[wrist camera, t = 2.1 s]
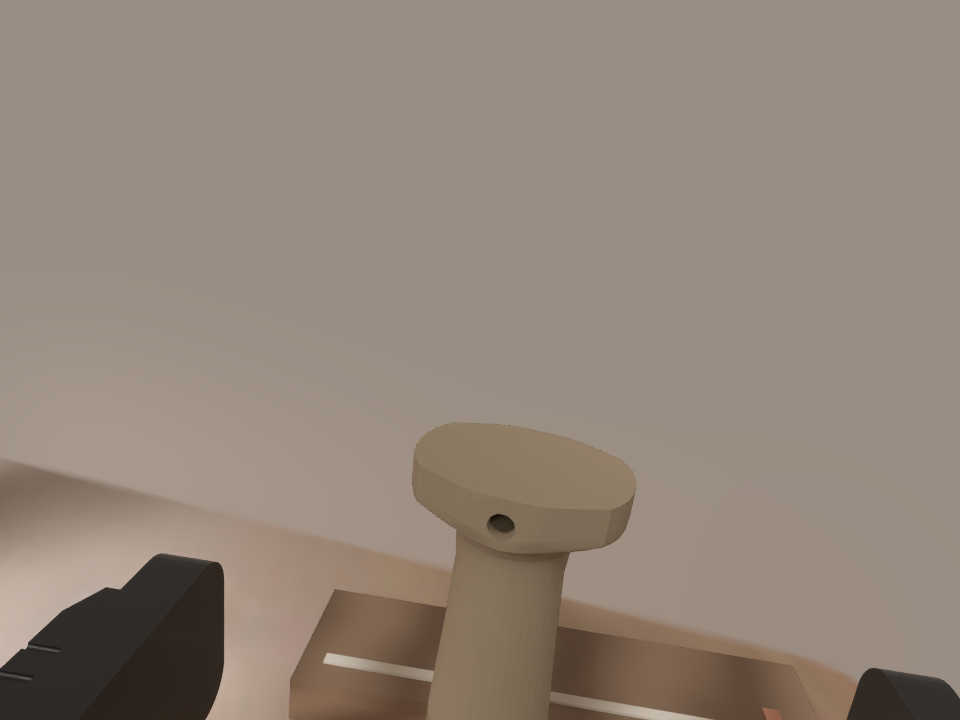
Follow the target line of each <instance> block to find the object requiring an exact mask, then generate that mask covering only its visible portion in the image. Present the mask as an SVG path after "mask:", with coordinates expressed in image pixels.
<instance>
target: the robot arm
mask: <svg viewBox="0 0 960 720" xmlns="http://www.w3.org/2000/svg"><path fill="white" fill-rule="evenodd" d="M223 667H224V573H223V569H222V566H221V565H220V564H219V563H218V562H213V561H206V560H200V559H194V558H187V557H181V556H175V555H168V554H158V555H156V556H154V557H153V558H152V559H151V560H149V561H148V562H147V563H146V564H145V565H144V566H143V567H142V568H141V569H140V570H139V572H138V573H137V574H136V575H135V576H134V577H133V578H132V579H131V580H130V581H129V582H128V583H127V584H126V585H125V586H124V587H123V588H122V589H121V590H119V589H113V588H107V587H106V588H104V589H102V590H100V591H99V592H97V593H95V594H93V595H91V596H89V597H87V598H85V599H84V600H82V601H80V602H78V603H76V604H74V605H72V606H71V607H69V608H67V609H65V610H63V611H62V612H61V613H59V614H58V615H57V616H56V617H55V618H54V619H53V620H52V621H51V622H50V623H49V624H48V625H47V626H45V627H44V628H43V629H42V630H41V631H40V632H39V633H38V634H37V635H36V636H35V637H34V638H33V639H31V640H30V641H29V642H28V646H27V648H26V649H21V650H20V651H19V652H18V653H16V654H15V655H14V656H13V657H12V658H11V659H10V660H9V661H8V662H7V663H6V664H5V665H4V666H2V667H1V668H0V720H205V719H206V717H207V716H208V714H209V712H210V710H211V708H212V706H213V703H214V701H215V699H216V696H217V693H218V690H219V686H220V683H221V678H222V673H223ZM847 720H960V699H959V697H958V696H957V694H956V693H955V692H954V690H953V689H952V688H951V687H950V686H949V684H947V683H946V682H945V681H943V680H941V679H939V678H934V677H928V676H921V675H915V674H908V673H903V672H895V671H890V670H884V669H877V668H871V669H868V670H867V671H866V672H865V673H864V674H863V675H862V677H861V679H860V681H859V684H858V687H857V690H856V693H855V696H854V699H853V702H852V705H851V708H850V711H849V714H848V717H847Z"/></svg>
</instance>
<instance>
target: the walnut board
mask: <svg viewBox="0 0 960 720" xmlns="http://www.w3.org/2000/svg"><path fill="white" fill-rule="evenodd" d="M445 613H446V608H443V607H437V606H431V605H425V604H419V603H413V602H407V601H402V600H396V599H390V598H384V597H378V596H372V595H366V594H360V593H354V592H348V591H342V590H336V589H335V590H334V592H333V594H332V596H331V598H330V600H329V602H328V604H327V606H326V608H325V610H324V612H323V614H322V616H321V618H320V621H319V623H318V625H317V627H316V629H315V631H314V633H313V635H312V637H311V639H310V641H309V643H308V645H307V647H306V649H305V651H304V653H303V655H302V657H301V659H300V661H299V663H298V665H297V667H296V669H295V671H294V673H293V675H292V677H291V679H290V702H289V718H292V719H298V720H426V715H427V708H428V700H429V694H430V689H431V684H432V679H433V674H434V669H435V664H436V659H437V654H438V649H439V644H440V639H441V634H442V629H443V624H444V619H445ZM548 720H818V719H817V717H816V715H815V713H814V710H813V708H812V706H811V704H810V702H809V699H808V697H807V695H806V693H805V691H804V688H803V686H802V684H801V682H800V680H799V677H798V675H797V673H796V671H795V668H794V666H791V665H785V664H779V663H773V662H767V661H761V660H755V659H749V658H743V657H737V656H731V655H725V654H719V653H713V652H707V651H701V650H695V649H689V648H683V647H677V646H671V645H665V644H659V643H653V642H647V641H641V640H635V639H629V638H623V637H617V636H611V635H605V634H599V633H593V632H587V631H581V630H575V629H569V628H563V627H557V633H556V642H555V652H554V662H553V672H552V682H551V692H550V702H549V712H548Z"/></svg>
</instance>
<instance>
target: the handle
mask: <svg viewBox="0 0 960 720" xmlns="http://www.w3.org/2000/svg"><path fill="white" fill-rule="evenodd" d="M412 486H413V492H414V495H415V498H416V500H417V501H418V502H419V503H420V504H421V505H423V506H424V507H425V508H427V509H428V510H429V511H430V512H432V513H433V514H434V515H436V516H437V517H438V518H440V519H441V520H443V521H444V522H446V523H447V524H448V525H450V526H451V527H453V528H455V529H456V556H455V562H454V567H453V573H452V579H451V585H450V590H449V596H448V602H447V608H446V613H445V619H444V624H443V629H442V634H441V639H440V644H439V649H438V654H437V659H436V664H435V669H434V674H433V679H432V684H431V689H430V694H429V700H428V708H427V715H426V720H548V712H549V702H550V692H551V682H552V672H553V662H554V652H555V642H556V633H557V625H558V617H559V609H560V601H561V593H562V585H563V577H564V571H565V568H566V564H567V561H568V557H569V554H570V552H575V551H585V550H591V549H596V548H602V547H605V546H607V545H609V544H611V543H613V542H614V541H616V540H617V539H619V538H620V536H621V535H622V534H623V532H624V531H625V529H626V526H627V523H628V520H629V517H630V514H631V509H632V505H633V500H634V495H635V491H636V478H635V476H634V473H633V471H632V470H631V469H630V467H629V466H628V465H627V464H626V463H625V462H624V461H623V460H621V459H619V458H617V457H615V456H612V455H610V454H608V453H606V452H603V451H601V450H598V449H596V448H594V447H592V446H589V445H587V444H584V443H582V442H579V441H576V440H573V439H570V438H566V437H562V436H559V435H555V434H550V433H545V432H541V431H536V430H531V429H527V428H522V427H516V426H510V425H500V424H480V423H450V424H446V425H443V426H440V427H436V428H435V429H433V430H431V431H429V432H427V433H426V434H425V435H424V436H423V437H422V438H421V439H420V440H419V442H418V443H417V444H416V448H415V451H414V461H413V473H412Z"/></svg>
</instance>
